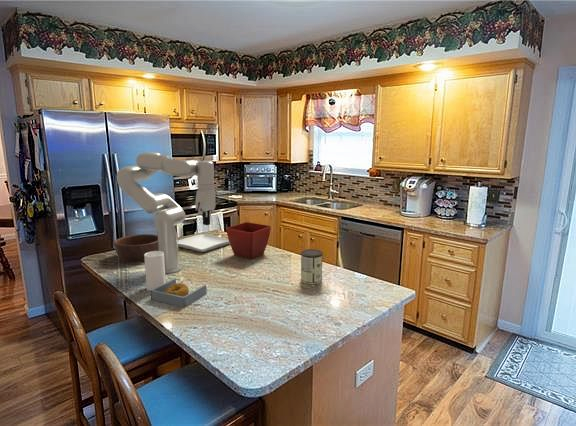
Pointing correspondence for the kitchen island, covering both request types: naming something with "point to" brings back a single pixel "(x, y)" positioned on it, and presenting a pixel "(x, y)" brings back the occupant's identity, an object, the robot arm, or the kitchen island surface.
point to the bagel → (178, 289)
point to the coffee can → (311, 266)
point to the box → (172, 299)
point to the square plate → (202, 242)
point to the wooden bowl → (135, 247)
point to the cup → (154, 269)
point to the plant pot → (248, 239)
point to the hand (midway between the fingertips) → (206, 224)
